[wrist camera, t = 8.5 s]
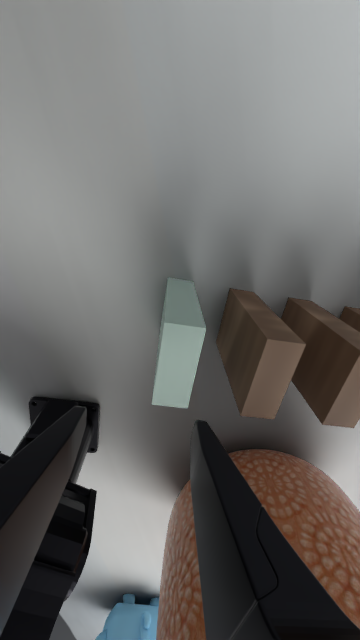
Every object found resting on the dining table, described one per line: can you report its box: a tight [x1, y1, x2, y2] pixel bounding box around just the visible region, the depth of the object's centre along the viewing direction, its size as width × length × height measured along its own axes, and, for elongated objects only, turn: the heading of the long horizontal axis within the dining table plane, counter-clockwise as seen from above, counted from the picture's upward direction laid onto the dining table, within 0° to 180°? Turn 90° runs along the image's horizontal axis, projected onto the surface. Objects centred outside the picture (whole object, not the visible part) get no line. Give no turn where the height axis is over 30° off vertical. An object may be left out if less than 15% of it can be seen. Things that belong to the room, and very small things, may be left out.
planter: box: [156, 449, 360, 640], centre depth 21 cm, size 21×21×19 cm
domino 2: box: [216, 288, 306, 419], centre depth 17 cm, size 2×5×8 cm, turn 171°
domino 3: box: [281, 298, 360, 428], centre depth 17 cm, size 2×5×8 cm, turn 170°
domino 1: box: [152, 277, 206, 409], centre depth 16 cm, size 2×5×8 cm, turn 170°
